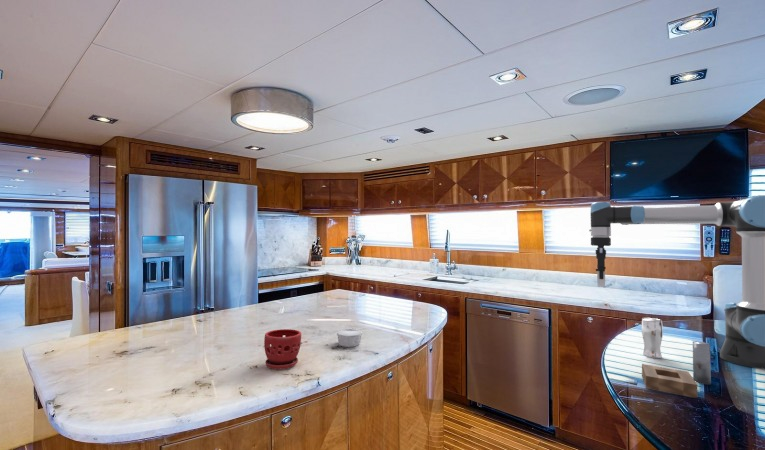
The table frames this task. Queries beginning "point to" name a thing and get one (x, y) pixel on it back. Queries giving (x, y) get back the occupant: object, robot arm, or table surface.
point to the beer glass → (652, 337)
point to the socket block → (669, 380)
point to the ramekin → (349, 337)
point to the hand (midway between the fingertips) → (601, 285)
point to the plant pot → (282, 348)
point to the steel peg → (701, 362)
